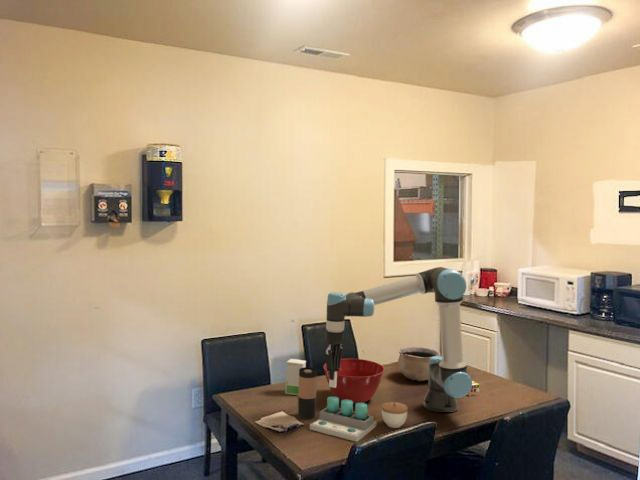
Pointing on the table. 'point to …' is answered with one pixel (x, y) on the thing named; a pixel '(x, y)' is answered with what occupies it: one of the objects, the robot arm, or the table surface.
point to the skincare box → (293, 375)
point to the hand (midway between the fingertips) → (332, 386)
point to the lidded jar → (394, 414)
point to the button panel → (343, 425)
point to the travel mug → (307, 392)
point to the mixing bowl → (356, 380)
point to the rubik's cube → (474, 387)
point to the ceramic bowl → (415, 362)
